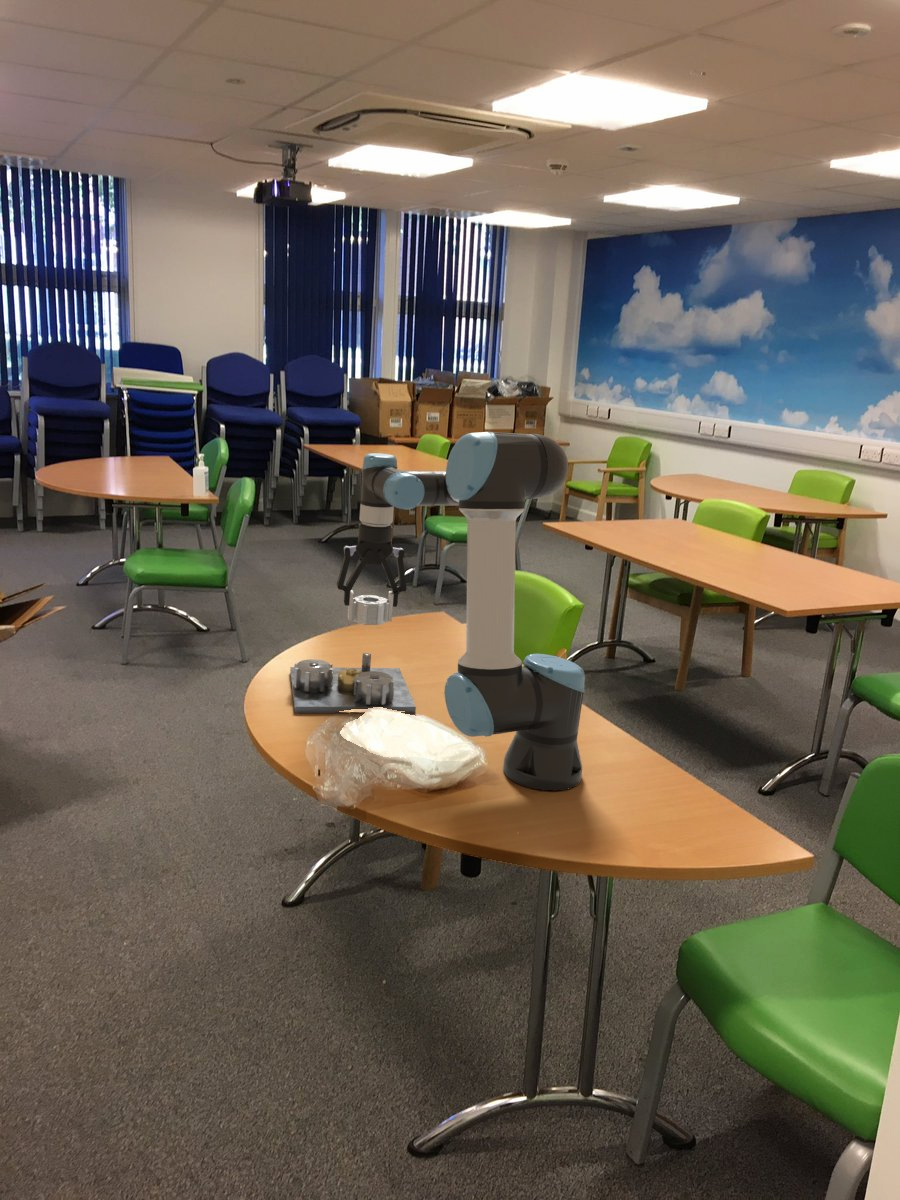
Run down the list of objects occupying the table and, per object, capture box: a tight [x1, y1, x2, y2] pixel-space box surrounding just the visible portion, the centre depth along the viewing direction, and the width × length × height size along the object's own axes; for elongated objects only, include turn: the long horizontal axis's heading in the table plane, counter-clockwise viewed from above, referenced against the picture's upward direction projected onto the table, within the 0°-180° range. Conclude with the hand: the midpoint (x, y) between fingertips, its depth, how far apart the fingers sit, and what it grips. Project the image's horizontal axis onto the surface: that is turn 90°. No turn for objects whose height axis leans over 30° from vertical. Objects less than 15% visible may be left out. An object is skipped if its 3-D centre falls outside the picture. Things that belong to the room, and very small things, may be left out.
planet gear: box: [352, 594, 390, 626], centre depth 214 cm, size 8×8×5 cm
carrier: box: [289, 652, 417, 714], centre depth 210 cm, size 24×26×7 cm
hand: (369, 619), depth 215 cm, fingers closed on planet gear, 8 cm apart
